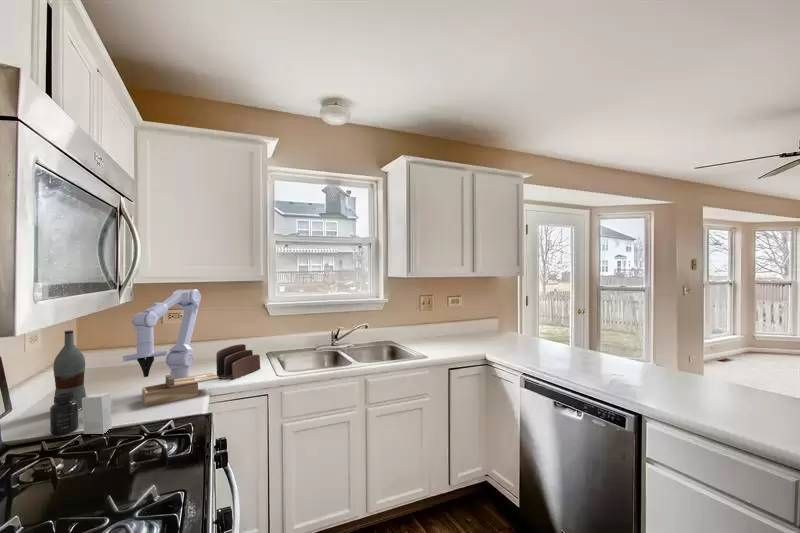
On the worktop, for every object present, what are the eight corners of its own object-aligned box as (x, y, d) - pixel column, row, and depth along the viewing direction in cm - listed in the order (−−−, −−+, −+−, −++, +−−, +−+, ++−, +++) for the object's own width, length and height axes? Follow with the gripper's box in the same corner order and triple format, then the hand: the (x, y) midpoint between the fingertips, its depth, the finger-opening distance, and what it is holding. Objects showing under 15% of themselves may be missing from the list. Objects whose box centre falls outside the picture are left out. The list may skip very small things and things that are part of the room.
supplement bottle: (49, 431, 122) (49, 394, 122) (77, 425, 127) (76, 389, 127) (50, 438, 117) (50, 399, 117) (79, 431, 122) (78, 393, 122)
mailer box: (142, 399, 152) (142, 387, 152) (192, 389, 163) (191, 378, 163) (146, 406, 143) (145, 393, 143) (198, 395, 155) (198, 383, 155)
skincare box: (112, 429, 122) (111, 392, 122) (103, 435, 117) (102, 396, 118) (92, 431, 121) (91, 393, 122) (81, 437, 117) (81, 398, 117)
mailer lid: (165, 382, 157) (165, 375, 157) (212, 373, 169) (211, 366, 169) (170, 388, 148) (170, 380, 149) (218, 378, 160) (218, 371, 160)
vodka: (46, 414, 138) (45, 333, 139) (67, 406, 147) (65, 329, 148) (73, 413, 139) (72, 332, 139) (92, 404, 148) (90, 328, 148)
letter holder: (216, 379, 180) (215, 349, 180) (245, 368, 199) (244, 342, 199) (233, 380, 177) (232, 350, 177) (260, 369, 196) (260, 342, 196)
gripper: (123, 346, 142) (124, 382, 142) (168, 340, 152) (168, 374, 151) (122, 344, 148) (122, 378, 147) (165, 339, 157) (165, 371, 157)
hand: (146, 376), depth 150 cm, fingers closed
